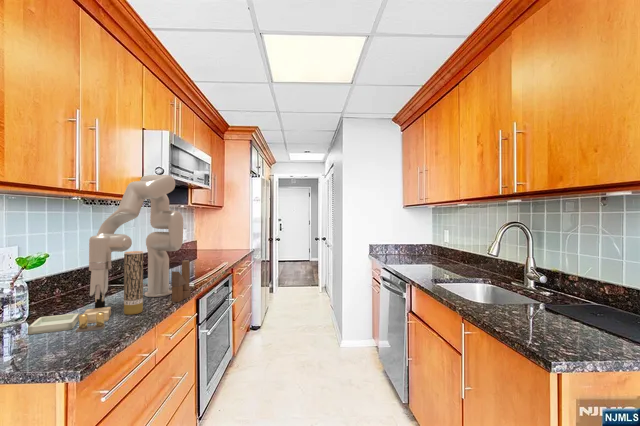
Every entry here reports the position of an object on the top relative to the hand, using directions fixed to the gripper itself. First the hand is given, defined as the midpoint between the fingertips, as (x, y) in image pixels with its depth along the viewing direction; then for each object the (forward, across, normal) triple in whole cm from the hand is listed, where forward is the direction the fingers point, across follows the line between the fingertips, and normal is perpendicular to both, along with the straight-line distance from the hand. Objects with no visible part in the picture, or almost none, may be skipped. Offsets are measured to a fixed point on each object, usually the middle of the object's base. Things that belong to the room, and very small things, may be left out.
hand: (99, 311), depth 132 cm
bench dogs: (+1, +19, 0) cm, 19 cm away
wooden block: (+1, -12, +31) cm, 33 cm away
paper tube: (+1, +4, +12) cm, 13 cm away
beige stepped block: (+2, +7, 0) cm, 7 cm away
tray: (+1, +11, -12) cm, 16 cm away
